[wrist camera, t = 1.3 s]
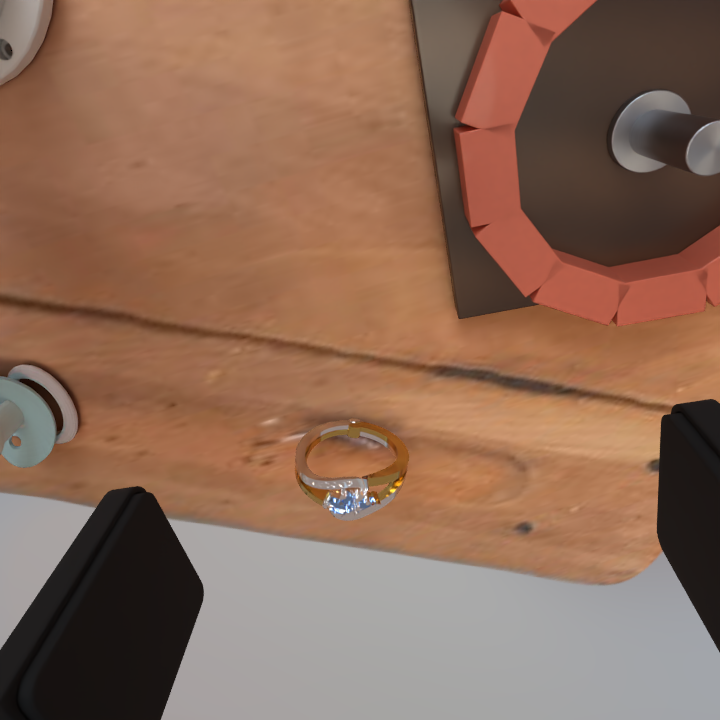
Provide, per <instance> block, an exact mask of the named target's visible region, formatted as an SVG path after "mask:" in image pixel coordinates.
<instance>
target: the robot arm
mask: <svg viewBox="0 0 720 720" xmlns="http://www.w3.org/2000/svg"><path fill="white" fill-rule="evenodd" d="M52 7H53V0H0V86H1V85H2V84H4V83H6V82H8V81H9V80H11V79H13V78H14V77H16V76H17V75H18V74H19V73H20V72H21V71H22V70H23V69H24V68H25V67H26V66H27V65H28V64H29V63H30V62H31V61H32V60H33V58H34V56H35V55H36V53H37V51H38V50H39V48H40V46H41V44H42V43H43V41H44V38H45V35H46V32H47V29H48V26H49V22H50V19H51V16H52ZM10 47H12V52H13V54H12V52H11V49H10ZM657 534H658V539H659V542H660V545H661V548H662V550H663V552H664V554H665V555H666V557H667V559H668V561H669V563H670V564H671V566H672V568H673V570H674V571H675V573H676V575H677V577H678V579H679V580H680V582H681V584H682V586H683V587H684V589H685V591H686V593H687V595H688V596H689V598H690V600H691V602H692V604H693V605H694V607H695V609H696V611H697V613H698V614H699V616H700V618H701V620H702V621H703V623H704V625H705V627H706V628H707V630H708V632H709V634H710V636H711V638H712V639H713V641H714V643H715V644H716V646H717V648H718V650H719V652H720V403H718V402H717V401H716V400H713V399H709V400H702V401H695V402H689V403H682V404H676V405H674V406H673V408H672V411H671V414H668V415H664V416H663V417H662V420H661V437H660V462H659V487H658V512H657ZM203 596H204V590H203V584H202V582H201V580H200V578H199V576H198V575H197V573H196V571H195V569H194V567H193V565H192V564H191V562H190V560H189V558H188V556H187V554H186V553H185V551H184V549H183V547H182V545H181V544H180V542H179V540H178V538H177V536H176V534H175V533H174V531H173V529H172V527H171V525H170V523H169V522H168V520H167V518H166V516H165V514H164V512H163V511H162V509H161V507H160V505H159V503H158V502H157V500H156V498H155V496H154V495H153V494H152V493H150V492H146V490H145V489H144V488H142V487H139V486H136V487H129V488H123V489H116V490H111V491H109V492H108V493H107V494H106V495H105V496H104V497H103V499H102V500H101V502H100V503H99V505H98V506H97V508H96V509H95V511H94V512H93V513H92V515H91V516H90V518H89V519H88V521H87V523H86V524H85V526H84V527H83V528H82V530H81V531H80V533H79V534H78V536H77V537H76V539H75V540H74V542H73V543H72V545H71V546H70V548H69V549H68V551H67V552H66V554H65V555H64V556H63V558H62V559H61V561H60V562H59V564H58V565H57V567H56V568H55V570H54V571H53V573H52V574H51V576H50V577H49V579H48V580H47V582H46V583H45V585H44V586H43V588H42V589H41V590H40V592H39V593H38V595H37V596H36V598H35V599H34V601H33V602H32V604H31V605H30V607H29V608H28V610H27V611H26V613H25V614H24V616H23V617H22V619H21V620H20V622H19V623H18V625H17V626H16V628H15V629H14V631H13V632H12V633H11V635H10V636H9V638H8V639H7V641H6V642H5V644H4V645H3V647H2V648H1V650H0V720H161V717H162V715H163V712H164V709H165V706H166V703H167V701H168V698H169V695H170V692H171V689H172V686H173V683H174V681H175V678H176V675H177V672H178V670H179V667H180V664H181V661H182V658H183V656H184V653H185V650H186V647H187V644H188V642H189V639H190V636H191V633H192V630H193V628H194V625H195V622H196V619H197V616H198V614H199V611H200V608H201V605H202V602H203Z"/></svg>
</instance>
